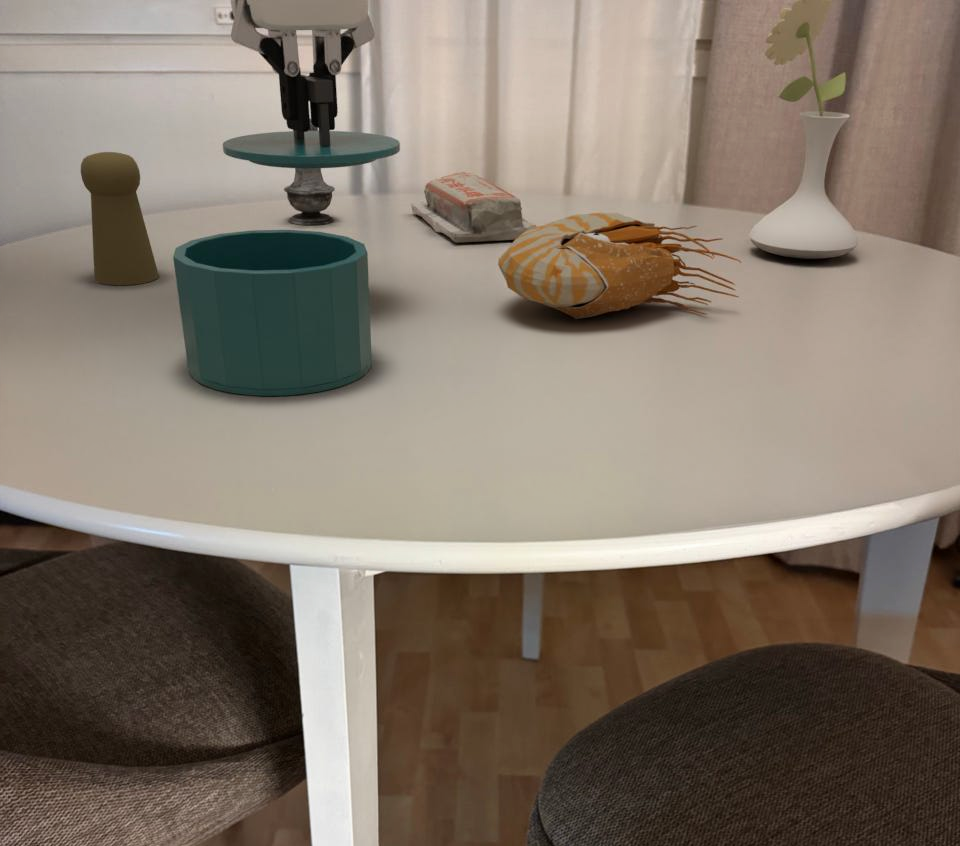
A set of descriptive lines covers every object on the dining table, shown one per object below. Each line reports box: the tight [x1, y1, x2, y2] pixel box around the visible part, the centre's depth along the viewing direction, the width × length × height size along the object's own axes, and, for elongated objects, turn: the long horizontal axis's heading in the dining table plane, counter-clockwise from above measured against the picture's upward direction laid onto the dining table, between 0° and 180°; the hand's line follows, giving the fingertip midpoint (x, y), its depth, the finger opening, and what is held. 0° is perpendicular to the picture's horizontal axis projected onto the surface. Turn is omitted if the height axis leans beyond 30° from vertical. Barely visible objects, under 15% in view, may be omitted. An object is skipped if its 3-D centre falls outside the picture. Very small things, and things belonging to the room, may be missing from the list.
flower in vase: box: [748, 0, 859, 260], centre depth 108 cm, size 13×11×25 cm
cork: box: [80, 151, 160, 286], centre depth 100 cm, size 6×6×11 cm
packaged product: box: [410, 171, 537, 244], centre depth 124 cm, size 18×5×10 cm
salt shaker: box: [283, 118, 335, 226], centre depth 123 cm, size 6×6×12 cm
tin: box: [172, 229, 373, 397], centre depth 79 cm, size 14×14×8 cm
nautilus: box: [497, 212, 743, 320], centre depth 93 cm, size 8×22×15 cm
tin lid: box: [222, 74, 401, 169], centre depth 87 cm, size 15×15×6 cm
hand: (310, 127), depth 88 cm, fingers closed on tin lid, 1 cm apart
